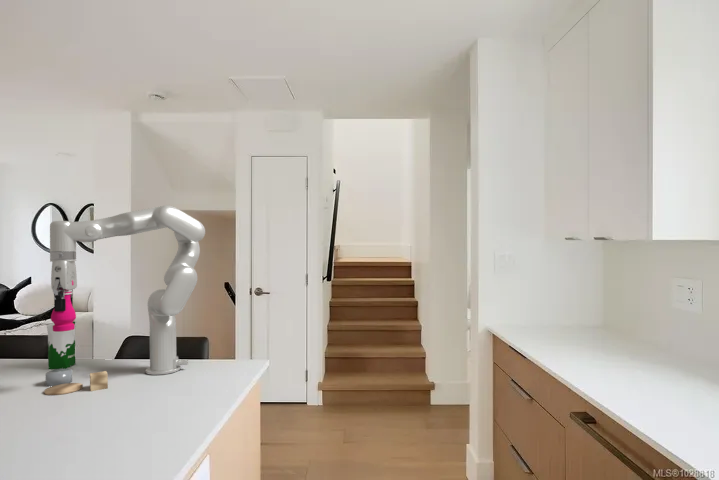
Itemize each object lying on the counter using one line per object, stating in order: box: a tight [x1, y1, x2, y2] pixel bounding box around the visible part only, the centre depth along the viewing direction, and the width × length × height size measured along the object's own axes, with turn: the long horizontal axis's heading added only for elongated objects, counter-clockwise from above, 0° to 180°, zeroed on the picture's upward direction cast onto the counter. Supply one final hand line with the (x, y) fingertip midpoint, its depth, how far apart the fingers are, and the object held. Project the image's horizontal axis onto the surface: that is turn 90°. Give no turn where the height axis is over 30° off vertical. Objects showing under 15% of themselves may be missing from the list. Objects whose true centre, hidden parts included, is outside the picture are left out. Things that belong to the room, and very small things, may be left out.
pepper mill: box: [50, 280, 77, 332], centre depth 157 cm, size 7×7×20 cm
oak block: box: [89, 370, 109, 392], centre depth 158 cm, size 5×5×5 cm
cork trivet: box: [43, 382, 84, 396], centre depth 156 cm, size 11×11×1 cm
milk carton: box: [46, 320, 77, 370], centre depth 188 cm, size 9×9×20 cm
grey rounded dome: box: [45, 368, 73, 387], centre depth 165 cm, size 8×8×4 cm
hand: (63, 309), depth 157 cm, fingers closed on pepper mill, 5 cm apart
